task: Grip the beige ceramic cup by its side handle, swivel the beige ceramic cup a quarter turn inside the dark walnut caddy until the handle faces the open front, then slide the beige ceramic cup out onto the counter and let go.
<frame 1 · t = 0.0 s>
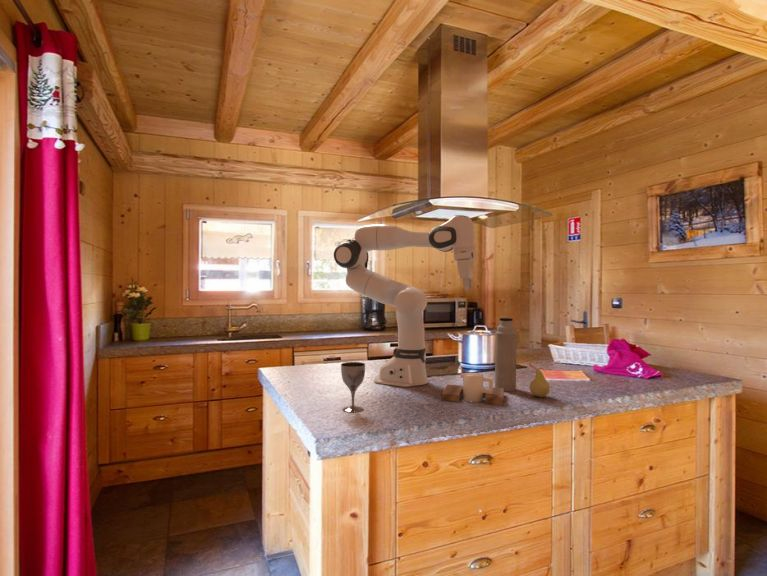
hand: (468, 289, 176), 39 cm above the countertop, tool pointing down, fingers open, 8 cm apart
thermos bottle: (505, 389, 173), on the countertop
beige ceramic cup: (476, 387, 157), in the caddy
wine glass: (352, 410, 145), on the countertop
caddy: (472, 399, 158), on the countertop
fruit: (538, 397, 162), on the countertop
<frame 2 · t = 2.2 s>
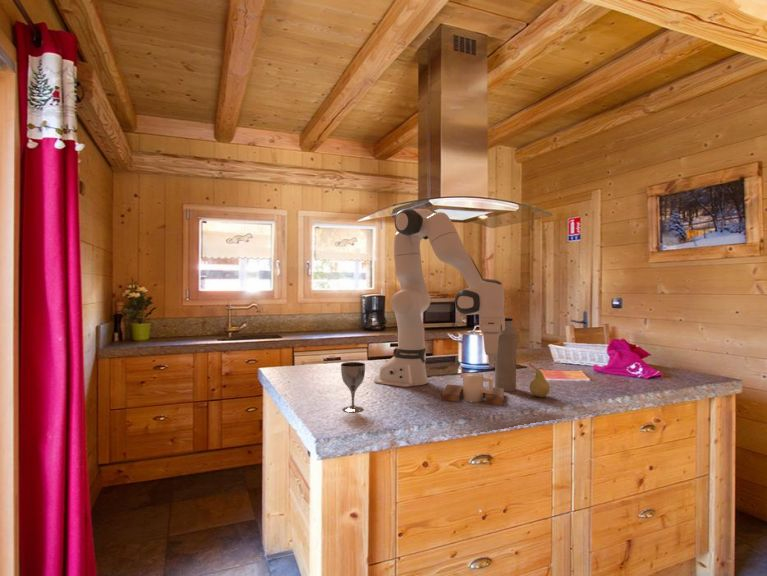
hand: (492, 364, 155), 13 cm above the countertop, tool pointing down, fingers open, 8 cm apart
nothing on the countertop moved.
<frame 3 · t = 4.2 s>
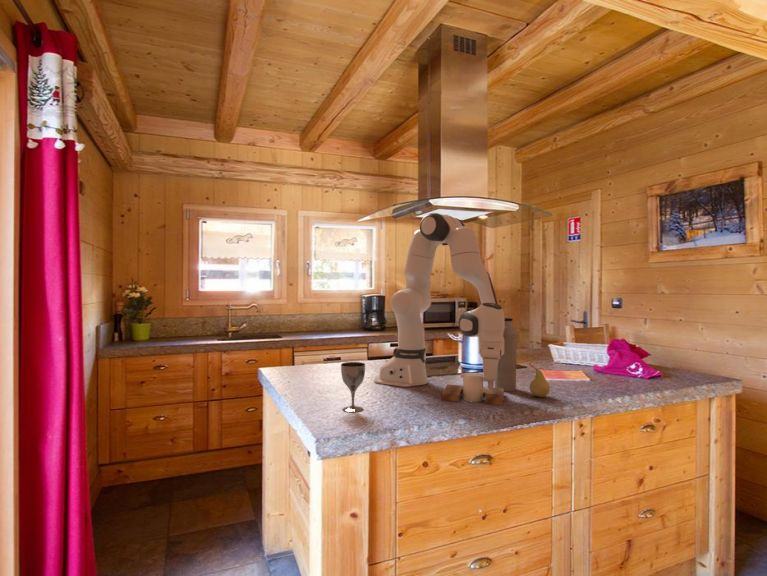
hand: (490, 387, 156), 5 cm above the countertop, tool pointing down, fingers closed on beige ceramic cup, 2 cm apart
beige ceramic cup: (476, 387, 157), in the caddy, touching gripper
everything else where it was.
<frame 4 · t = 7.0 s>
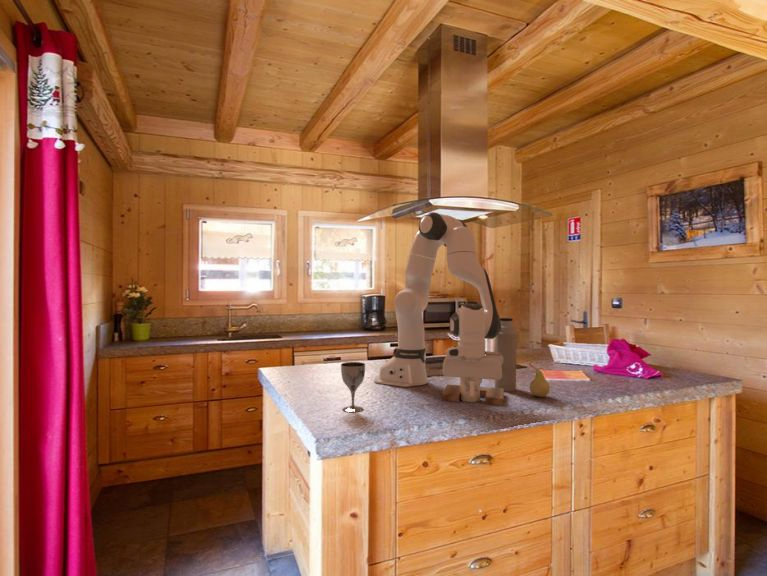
hand: (471, 390, 152), 5 cm above the countertop, tool pointing down, fingers closed on beige ceramic cup
beige ceramic cup: (470, 387, 156), in the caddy, touching gripper
everything else where it was.
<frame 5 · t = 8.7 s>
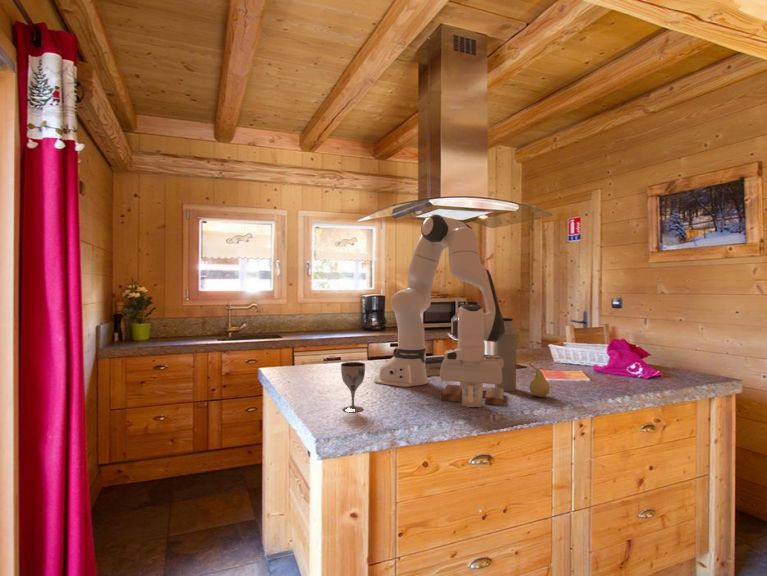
hand: (470, 395, 145), 5 cm above the countertop, tool pointing down, fingers closed on beige ceramic cup
beige ceramic cup: (471, 392, 150), on the countertop, touching gripper
everything else where it was.
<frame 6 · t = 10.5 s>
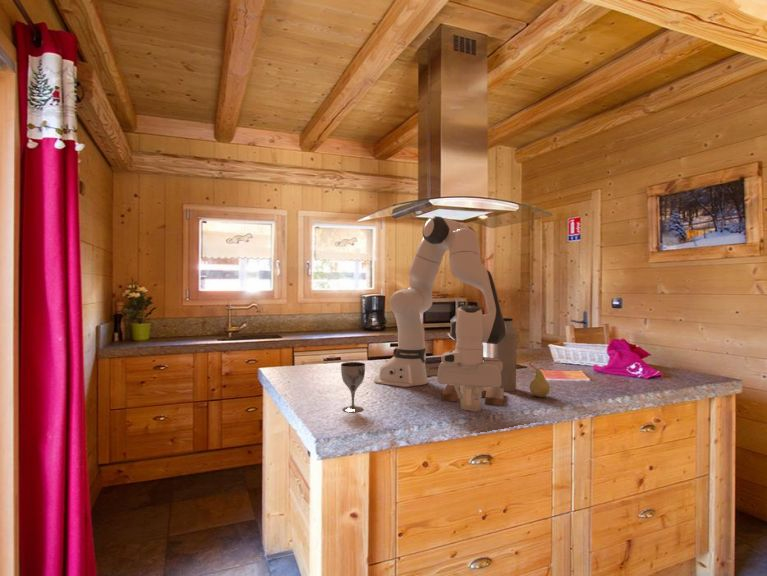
hand: (468, 399, 141), 5 cm above the countertop, tool pointing down, fingers open, 4 cm apart
beige ceramic cup: (470, 395, 146), on the countertop
everything else where it was.
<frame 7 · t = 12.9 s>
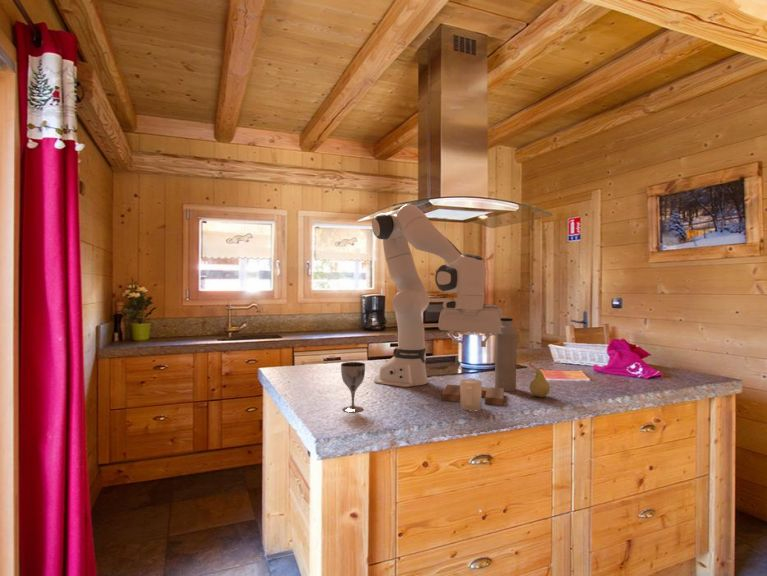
hand: (468, 345, 145), 21 cm above the countertop, tool pointing down, fingers open, 8 cm apart
nothing on the countertop moved.
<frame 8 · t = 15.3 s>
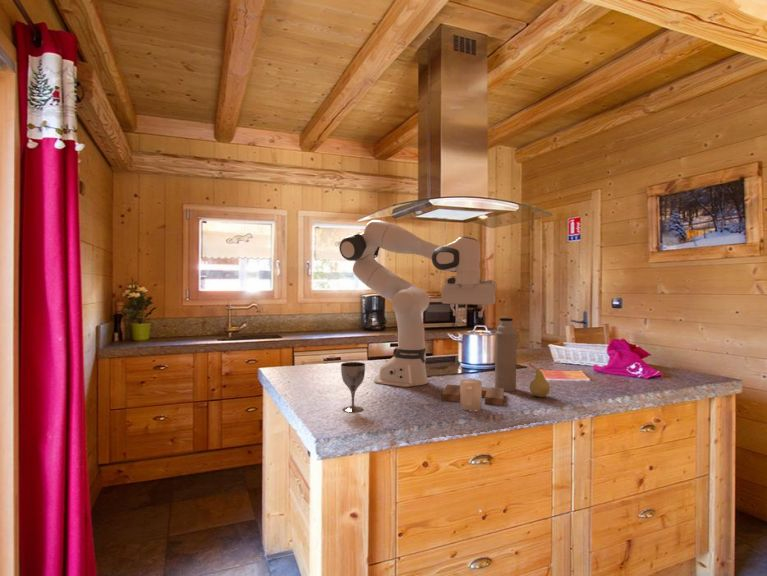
hand: (467, 316, 166), 29 cm above the countertop, tool pointing down, fingers open, 8 cm apart
nothing on the countertop moved.
at the end: beige ceramic cup 1.0 cm from the target spot on the countertop beside the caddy, on the countertop; beige ceramic cup tilted 0°; the gripper is holding nothing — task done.
